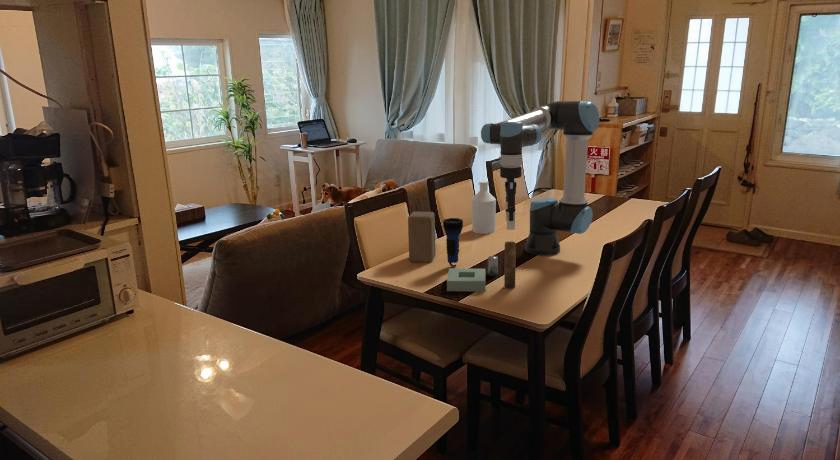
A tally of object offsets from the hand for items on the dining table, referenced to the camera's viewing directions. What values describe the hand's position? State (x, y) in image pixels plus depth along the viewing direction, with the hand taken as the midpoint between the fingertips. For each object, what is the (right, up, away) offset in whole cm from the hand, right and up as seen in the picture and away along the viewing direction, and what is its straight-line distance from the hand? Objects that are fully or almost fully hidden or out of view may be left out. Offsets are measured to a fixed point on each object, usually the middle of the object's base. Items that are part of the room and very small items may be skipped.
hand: (510, 224), depth 214 cm
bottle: (0, -3, +83) cm, 83 cm away
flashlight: (-19, -18, +30) cm, 39 cm away
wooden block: (-31, -15, +42) cm, 54 cm away
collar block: (-15, -23, +10) cm, 29 cm away
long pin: (+1, -23, +6) cm, 24 cm away
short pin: (-4, -19, +20) cm, 28 cm away
